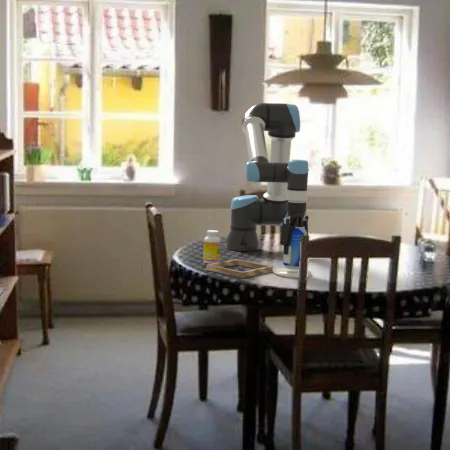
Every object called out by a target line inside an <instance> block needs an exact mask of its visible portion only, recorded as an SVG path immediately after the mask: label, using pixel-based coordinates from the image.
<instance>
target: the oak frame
mask: <svg viewBox="0 0 450 450" xmlns="http://www.w3.org/2000/svg"><path fill="white" fill-rule="evenodd" d="M234 266H241V267H245V268H246V267H247V268H251V269H250V270H244V271H239V270H234V269H231V268H228V267H234ZM205 270H206V271H209V272H215V273H218V274H223V275H227V276H232V277H236V278H241V279H243V278H249V277H254V276H257V275H262V274H266V273H267V274H268V273H272V272H273V273H274V266H272V265H267V264H263V263H257V262H254V261H248V260H244V259H243V260H242V259H237V258H235V259H231V260H226V261H225V260H224V261H220V262H219V263H213V264H206V268H205Z"/></svg>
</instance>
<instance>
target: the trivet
mask: <svg viewBox="0 0 450 450" xmlns="http://www.w3.org/2000/svg"><path fill="white" fill-rule="evenodd" d="M298 272H299V270H291V269H286V268H285V267H281V268H275V269H273V274H274V276H278V277H281V278H288V279H299V278H298ZM310 277H312V272H311V271H310V270H308V277H307V278H310Z"/></svg>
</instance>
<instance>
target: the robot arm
mask: <svg viewBox="0 0 450 450" xmlns="http://www.w3.org/2000/svg"><path fill="white" fill-rule="evenodd" d="M300 116H301V115H300V110H299V107H298V106H297V105H296V104H293V103H287V102H286V103H279V102H278V103H274V102H272V103H269V102H260V103H259V102H258V103H256V104H254V105H253V106H251V107H250V108H249V109H247V110H246V112H245V113H244V114H243V117H242V120H241V129H242V132H243V133H244V134H245V140H246V149H247V156H248V161H247V162H246V163H245V166H244V168H245V169H244V174H245V175H244V177H245V181H247V182H254V183H267V186H266V187H267V189H266V192H264V193H263V194H262V195H263V196H262V198H259V196H258V195H256V194H248V195H240V196H239V195H238V196H235V197H233V198H232V199H231V203H230V223H229V224H230V225H229V233H228V235H227V239H226V241H225V249H227V250H231V251H238V252H255V251H259V250H260V246H261V244H260V240H259V237H258V232H257V228H258V227H257V226H271V227H275V226H276V227H279V226H280V227H281V231H280V232H281V233H280V240H279V244H280V246H283V249H284V252H283V253H284V259H283V258H282V264H283V263H289V264H290V261H291V246H290V243H291V239H292V232H293V229H295V227H296V226H298V227H303V226H305V230H306V232H307V235H308V236H309V215H304V214H305V213H306V212H307V201H308V184H309V183H308V182H309V171H310V169H309V161H307V160H306V159H290V158H291V147H292V140H293V139H295V137H296V133H299V132H300V131H301V117H300ZM265 132H268V133H267V135H268V137H269V138H270V150H269V151H270V152H269V154H268V149H267V143H266V142H267V141H266V136H265ZM290 225H291V226H290ZM287 242H288V243H287Z"/></svg>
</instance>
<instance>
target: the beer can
mask: <svg viewBox="0 0 450 450" xmlns="http://www.w3.org/2000/svg"><path fill="white" fill-rule="evenodd" d="M290 226H291V225H290ZM303 235H307V232H306V230H305V226H303V227H298V226H296V227H295V229H293V232H292V239H291V243H290V246H291V261H290V264H289V263H283V262H282V265H283V268H286V269H291V270H299V261H300V242H301V237H302V236H303ZM287 243H288V242H287ZM283 252H284V248H283ZM283 259H284V253H283V254H282V260H283Z"/></svg>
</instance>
